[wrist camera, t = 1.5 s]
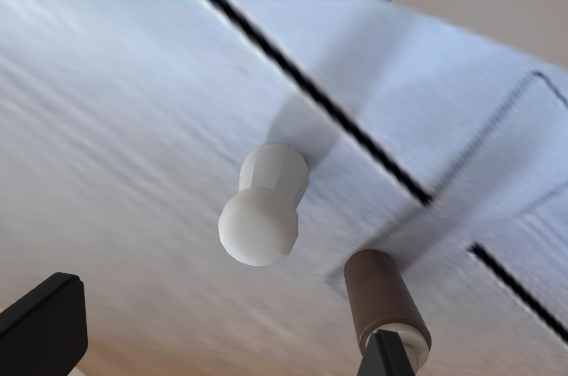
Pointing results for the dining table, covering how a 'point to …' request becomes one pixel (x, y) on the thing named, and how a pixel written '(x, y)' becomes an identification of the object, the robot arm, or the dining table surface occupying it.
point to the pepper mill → (384, 304)
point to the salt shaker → (265, 206)
